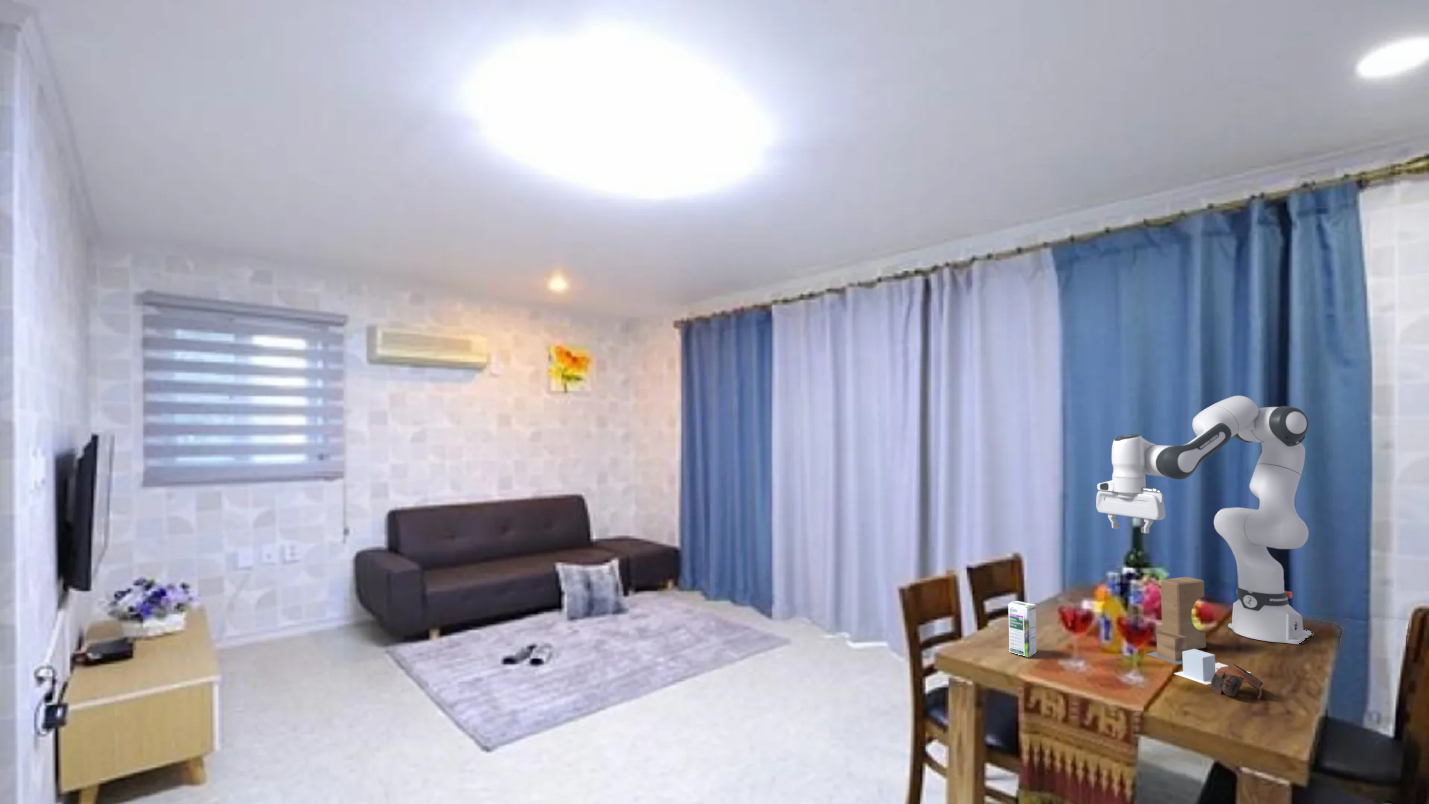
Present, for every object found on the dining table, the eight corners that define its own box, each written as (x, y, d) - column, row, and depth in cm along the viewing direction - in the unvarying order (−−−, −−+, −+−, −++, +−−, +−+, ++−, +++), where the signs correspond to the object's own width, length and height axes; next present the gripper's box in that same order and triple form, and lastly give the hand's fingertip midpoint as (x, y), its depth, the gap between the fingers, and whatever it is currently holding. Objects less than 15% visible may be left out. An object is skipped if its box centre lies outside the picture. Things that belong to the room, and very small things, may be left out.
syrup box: (1008, 653, 190) (1007, 603, 191) (1018, 648, 194) (1016, 599, 195) (1028, 658, 186) (1026, 607, 186) (1037, 653, 190) (1036, 603, 190)
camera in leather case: (1208, 685, 168) (1227, 658, 167) (1251, 712, 161) (1270, 685, 160) (1201, 686, 159) (1221, 659, 158) (1246, 715, 153) (1266, 687, 152)
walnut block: (1168, 652, 188) (1167, 631, 189) (1186, 658, 184) (1186, 636, 184) (1157, 655, 186) (1156, 634, 187) (1175, 661, 182) (1174, 639, 182)
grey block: (1195, 671, 174) (1194, 648, 174) (1215, 678, 170) (1214, 654, 170) (1183, 674, 172) (1182, 651, 172) (1203, 681, 168) (1202, 657, 168)
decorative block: (1188, 642, 198) (1186, 576, 198) (1207, 648, 192) (1205, 580, 193) (1161, 646, 194) (1159, 579, 195) (1179, 653, 189) (1177, 583, 190)
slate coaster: (1166, 650, 191) (1166, 649, 191) (1198, 661, 183) (1198, 659, 183) (1145, 655, 187) (1145, 653, 187) (1178, 666, 179) (1178, 664, 179)
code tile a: (1218, 663, 180) (1218, 662, 180) (1251, 674, 173) (1251, 672, 173) (1199, 668, 177) (1199, 666, 177) (1232, 679, 170) (1232, 677, 170)
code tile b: (1192, 670, 176) (1192, 668, 176) (1225, 680, 169) (1225, 679, 169) (1173, 675, 173) (1173, 673, 173) (1206, 686, 166) (1206, 684, 166)
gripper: (1169, 488, 195) (1171, 535, 195) (1105, 483, 214) (1106, 525, 214) (1155, 490, 193) (1157, 536, 193) (1092, 484, 212) (1093, 526, 212)
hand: (1130, 530), depth 203 cm, fingers open, 8 cm apart
